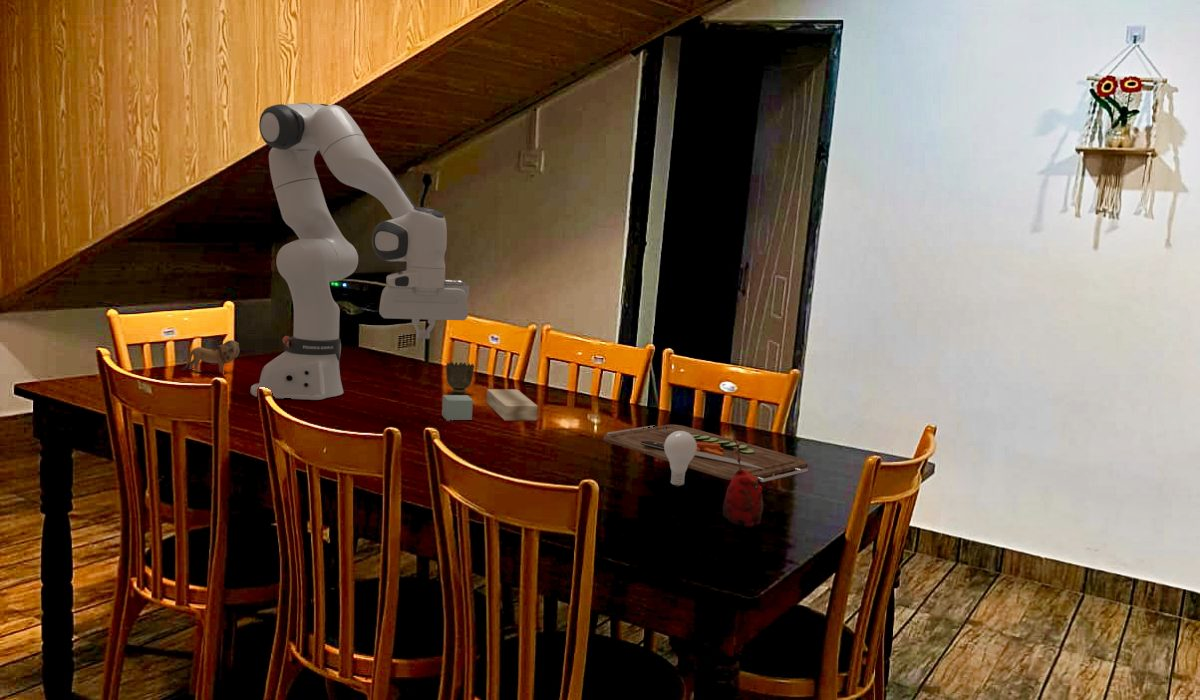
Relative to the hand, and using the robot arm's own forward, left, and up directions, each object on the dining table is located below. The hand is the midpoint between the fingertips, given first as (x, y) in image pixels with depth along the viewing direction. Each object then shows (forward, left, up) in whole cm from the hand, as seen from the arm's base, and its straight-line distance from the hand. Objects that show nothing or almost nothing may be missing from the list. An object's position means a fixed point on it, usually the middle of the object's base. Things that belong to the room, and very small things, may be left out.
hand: (422, 338), depth 241 cm
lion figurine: (-47, +54, -19) cm, 74 cm away
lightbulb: (+41, -59, -19) cm, 74 cm away
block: (+9, 0, -19) cm, 21 cm away
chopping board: (+58, -34, -20) cm, 70 cm away
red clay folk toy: (+44, -81, -19) cm, 94 cm away
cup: (+15, +28, -19) cm, 37 cm away
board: (+24, +7, -19) cm, 31 cm away
